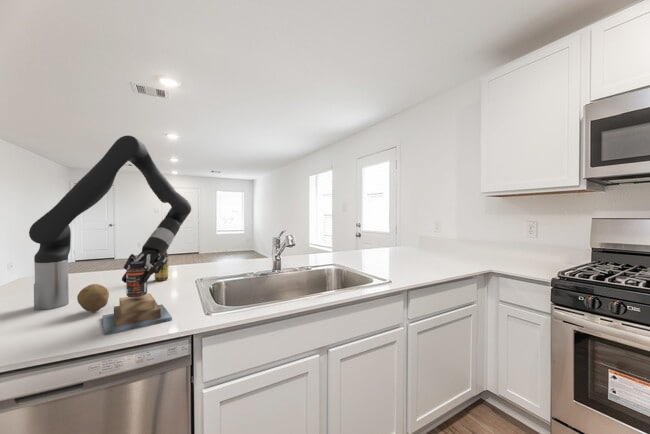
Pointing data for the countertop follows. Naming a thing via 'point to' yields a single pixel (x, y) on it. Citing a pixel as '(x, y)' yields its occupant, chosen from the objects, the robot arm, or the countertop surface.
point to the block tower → (135, 314)
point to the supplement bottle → (135, 280)
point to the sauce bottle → (163, 271)
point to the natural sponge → (93, 297)
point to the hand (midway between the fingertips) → (132, 282)
